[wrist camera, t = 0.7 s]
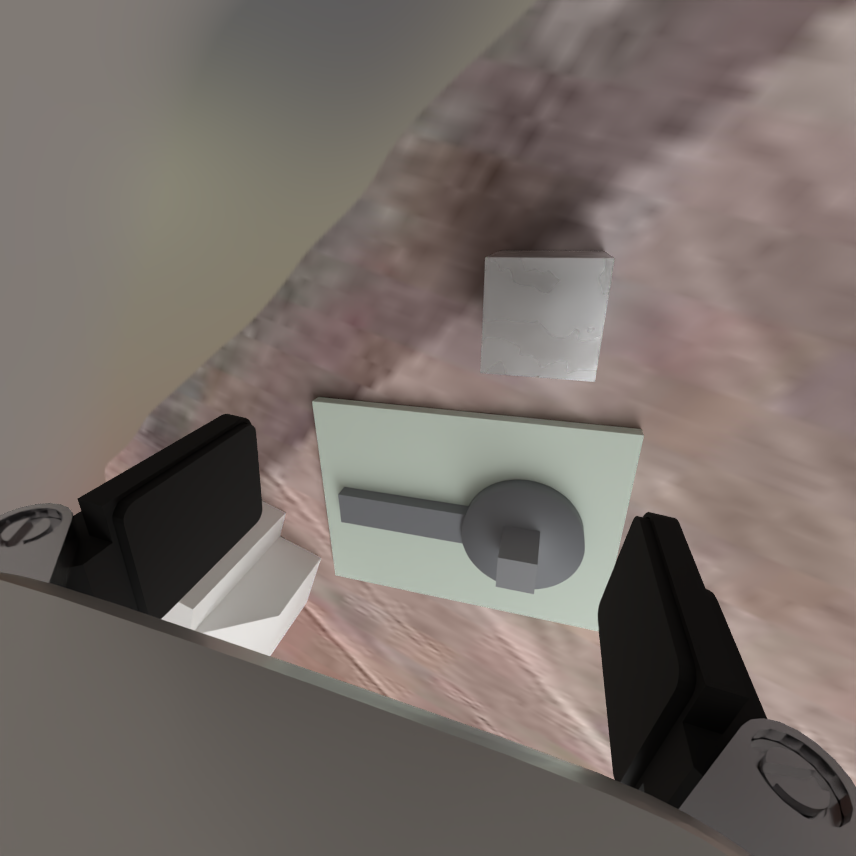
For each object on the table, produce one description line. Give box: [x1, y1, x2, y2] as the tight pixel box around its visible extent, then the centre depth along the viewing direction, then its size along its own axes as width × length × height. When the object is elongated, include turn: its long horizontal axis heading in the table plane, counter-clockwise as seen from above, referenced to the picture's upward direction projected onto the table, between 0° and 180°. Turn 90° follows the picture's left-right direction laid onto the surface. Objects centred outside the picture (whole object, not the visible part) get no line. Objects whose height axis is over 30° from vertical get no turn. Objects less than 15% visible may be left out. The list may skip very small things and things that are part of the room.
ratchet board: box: [312, 397, 644, 631], centre depth 33 cm, size 24×18×6 cm
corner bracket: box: [162, 501, 321, 656], centre depth 39 cm, size 11×11×12 cm
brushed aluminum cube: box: [480, 250, 615, 382], centre depth 25 cm, size 6×6×6 cm
